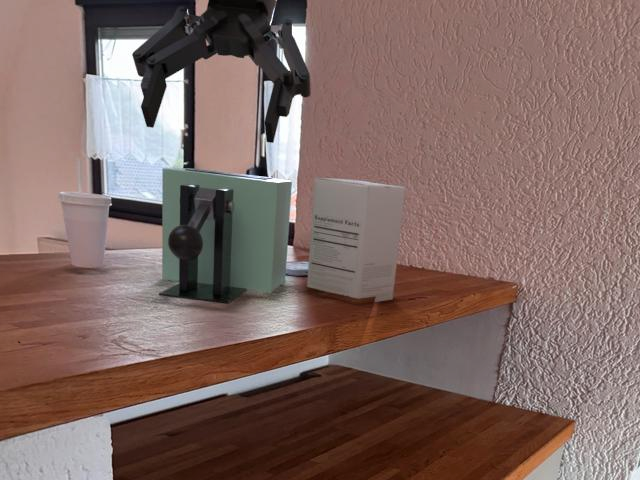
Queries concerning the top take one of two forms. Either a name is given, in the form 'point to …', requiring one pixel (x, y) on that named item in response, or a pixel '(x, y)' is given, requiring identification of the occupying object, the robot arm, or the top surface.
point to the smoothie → (85, 224)
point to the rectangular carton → (355, 238)
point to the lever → (193, 227)
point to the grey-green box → (234, 227)
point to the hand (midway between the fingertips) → (207, 125)
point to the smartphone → (297, 268)
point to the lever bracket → (222, 252)
